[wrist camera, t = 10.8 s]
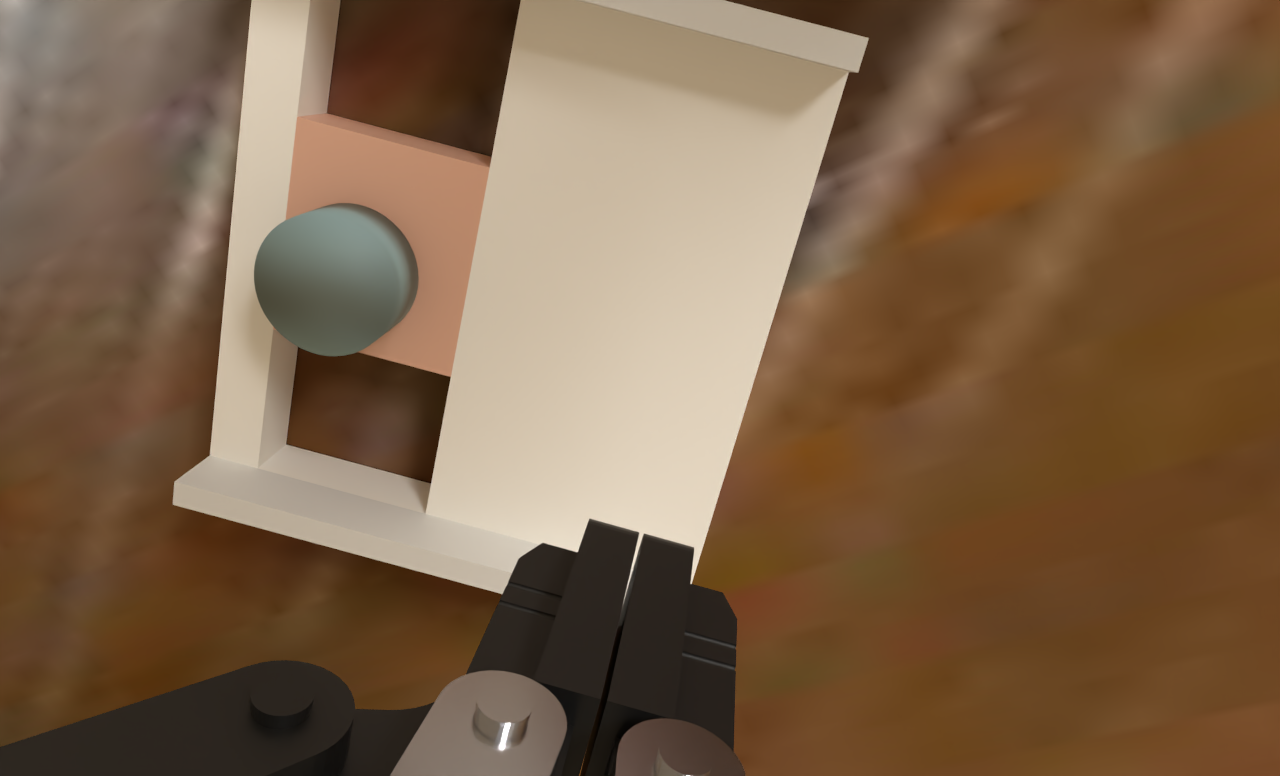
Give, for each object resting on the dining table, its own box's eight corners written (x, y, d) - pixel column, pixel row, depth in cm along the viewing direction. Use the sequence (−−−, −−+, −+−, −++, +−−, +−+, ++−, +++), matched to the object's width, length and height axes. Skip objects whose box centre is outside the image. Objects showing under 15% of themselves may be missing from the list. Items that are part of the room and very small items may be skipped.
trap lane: (296, -104, 33) (222, -132, 28) (850, 41, 32) (868, 38, 28) (238, 453, 40) (172, 504, 36) (687, 574, 40) (680, 642, 35)
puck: (292, 189, 34) (258, 198, 31) (427, 220, 33) (403, 231, 31) (281, 320, 35) (249, 338, 33) (409, 350, 35) (386, 370, 33)
